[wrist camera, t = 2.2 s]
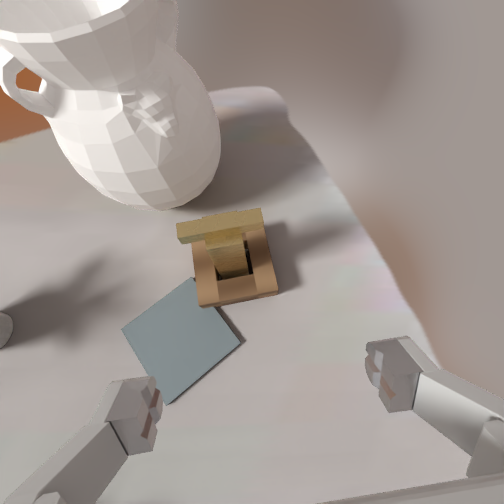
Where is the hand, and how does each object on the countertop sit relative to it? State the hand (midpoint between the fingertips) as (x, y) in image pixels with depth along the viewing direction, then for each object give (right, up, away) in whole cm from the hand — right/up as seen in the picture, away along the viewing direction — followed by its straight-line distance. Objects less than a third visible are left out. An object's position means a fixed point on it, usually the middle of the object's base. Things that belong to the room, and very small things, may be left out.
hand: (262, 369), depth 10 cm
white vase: (-13, +16, +33) cm, 39 cm away
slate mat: (-10, -6, +24) cm, 26 cm away
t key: (-3, +2, +27) cm, 27 cm away
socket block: (-3, +2, +27) cm, 27 cm away
